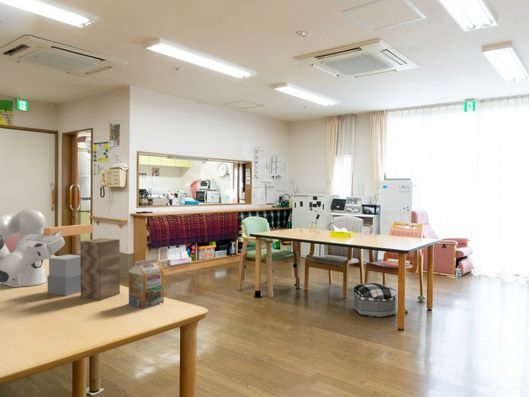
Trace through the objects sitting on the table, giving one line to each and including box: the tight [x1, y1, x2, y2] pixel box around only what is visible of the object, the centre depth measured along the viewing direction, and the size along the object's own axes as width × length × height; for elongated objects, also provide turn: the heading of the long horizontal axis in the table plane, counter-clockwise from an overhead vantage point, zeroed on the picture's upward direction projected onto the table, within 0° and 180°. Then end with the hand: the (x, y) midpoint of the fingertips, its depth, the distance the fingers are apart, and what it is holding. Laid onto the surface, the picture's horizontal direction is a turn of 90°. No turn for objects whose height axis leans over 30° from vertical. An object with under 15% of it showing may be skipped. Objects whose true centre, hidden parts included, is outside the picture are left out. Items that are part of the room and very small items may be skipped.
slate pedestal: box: [46, 254, 81, 297], centre depth 194 cm, size 12×12×17 cm
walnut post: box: [79, 237, 121, 301], centre depth 187 cm, size 12×12×26 cm
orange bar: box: [43, 223, 94, 237], centre depth 184 cm, size 4×24×4 cm, turn 159°
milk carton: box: [128, 258, 165, 309], centre depth 175 cm, size 11×11×19 cm
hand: (55, 232), depth 177 cm, fingers closed on orange bar, 4 cm apart
